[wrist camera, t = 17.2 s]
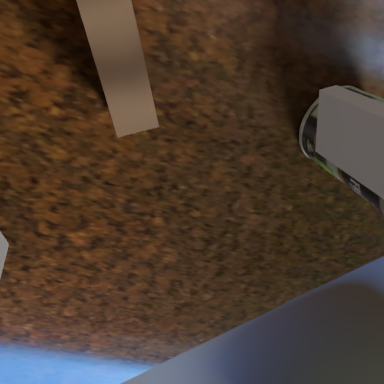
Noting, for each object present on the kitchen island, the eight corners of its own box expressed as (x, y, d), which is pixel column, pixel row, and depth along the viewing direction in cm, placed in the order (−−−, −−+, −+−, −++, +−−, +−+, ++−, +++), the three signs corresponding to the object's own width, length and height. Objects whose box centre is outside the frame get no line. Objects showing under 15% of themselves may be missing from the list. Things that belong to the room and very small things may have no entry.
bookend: (154, 96, 34) (173, 123, 27) (97, 110, 33) (102, 141, 27) (107, -128, 24) (117, -168, 18) (23, -117, 23) (3, -155, 17)
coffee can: (334, 170, 47) (417, 230, 35) (283, 145, 42) (360, 206, 30) (382, 105, 43) (492, 149, 32) (333, 69, 38) (441, 106, 27)
